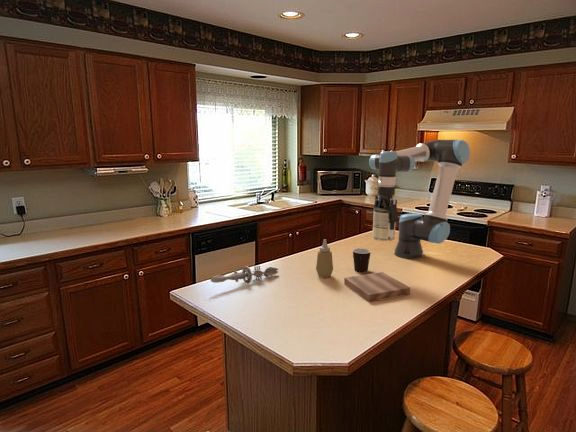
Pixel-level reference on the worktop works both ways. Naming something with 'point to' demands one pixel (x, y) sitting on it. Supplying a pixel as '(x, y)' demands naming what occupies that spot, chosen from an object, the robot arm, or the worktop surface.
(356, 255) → the coffee mug
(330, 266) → the squeeze bottle
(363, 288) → the walnut block
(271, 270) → the spaceship
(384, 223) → the coffee can
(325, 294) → the worktop surface
